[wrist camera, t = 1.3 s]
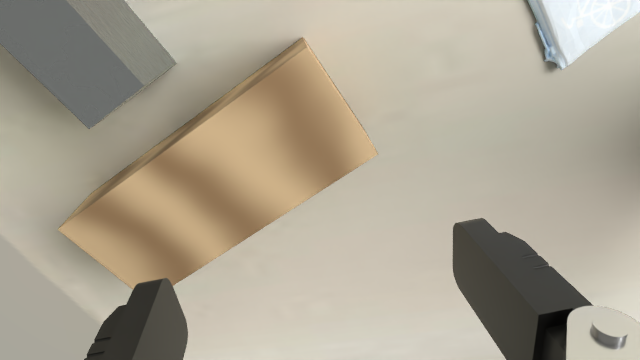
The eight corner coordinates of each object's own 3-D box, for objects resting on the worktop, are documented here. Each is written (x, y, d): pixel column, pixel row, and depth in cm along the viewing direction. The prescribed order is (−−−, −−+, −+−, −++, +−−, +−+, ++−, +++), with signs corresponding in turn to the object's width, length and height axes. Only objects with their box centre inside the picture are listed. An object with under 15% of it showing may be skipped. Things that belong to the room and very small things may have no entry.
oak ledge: (303, 37, 26) (307, 47, 22) (363, 128, 29) (378, 154, 25) (91, 193, 30) (57, 229, 25) (166, 259, 33) (147, 301, 29)
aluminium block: (23, -121, 21) (-85, -166, 15) (177, 62, 26) (144, 85, 20) (-25, -74, 22) (-147, -98, 16) (133, 96, 27) (89, 129, 21)
